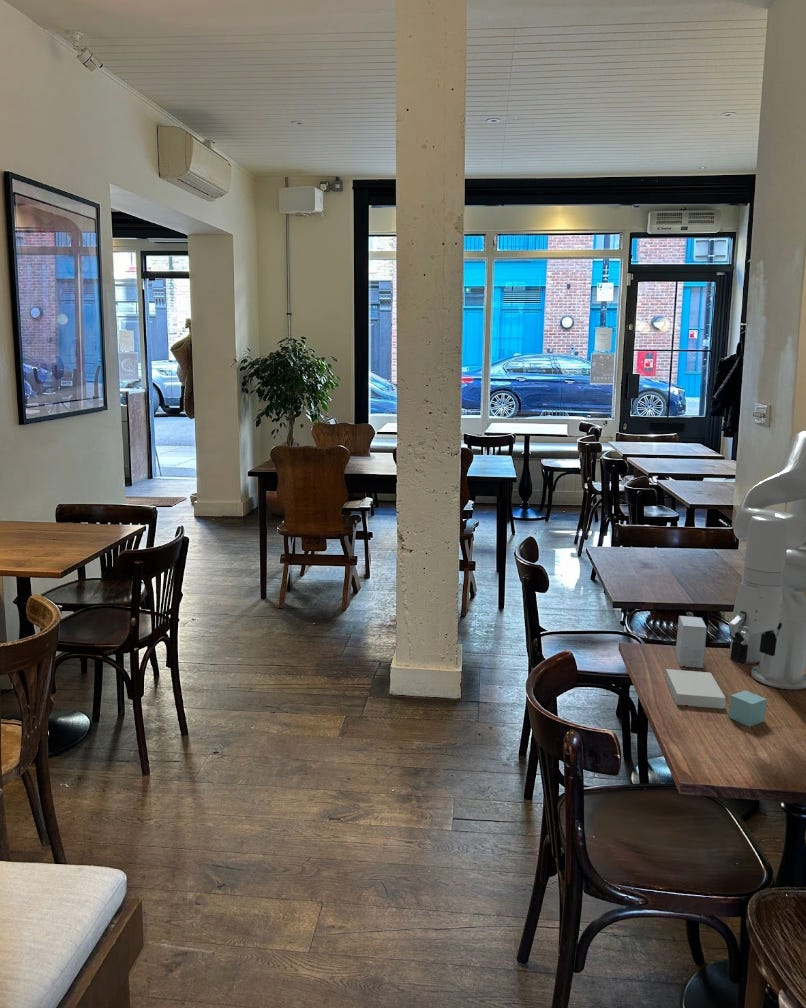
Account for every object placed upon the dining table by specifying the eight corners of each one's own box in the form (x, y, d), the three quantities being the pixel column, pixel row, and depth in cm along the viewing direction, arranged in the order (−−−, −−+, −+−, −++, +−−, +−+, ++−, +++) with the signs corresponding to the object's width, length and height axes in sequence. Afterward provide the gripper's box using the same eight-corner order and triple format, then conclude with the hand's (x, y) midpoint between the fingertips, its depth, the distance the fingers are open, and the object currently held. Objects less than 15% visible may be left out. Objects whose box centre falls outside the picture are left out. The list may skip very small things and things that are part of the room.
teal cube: (742, 712, 174) (745, 690, 173) (764, 721, 170) (766, 699, 169) (728, 717, 171) (730, 695, 170) (749, 726, 167) (752, 704, 166)
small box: (703, 669, 197) (707, 627, 195) (679, 666, 198) (683, 625, 196) (698, 657, 205) (702, 617, 203) (675, 654, 206) (678, 615, 204)
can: (759, 667, 199) (765, 620, 197) (726, 661, 203) (732, 615, 200) (762, 657, 205) (768, 612, 203) (731, 651, 209) (736, 607, 207)
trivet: (665, 679, 190) (666, 669, 190) (709, 682, 189) (710, 672, 188) (676, 704, 176) (677, 693, 176) (724, 708, 175) (725, 697, 175)
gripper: (771, 568, 172) (761, 645, 175) (719, 577, 163) (710, 658, 166) (804, 576, 166) (794, 656, 169) (753, 586, 157) (743, 670, 160)
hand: (752, 657), depth 167 cm, fingers open, 9 cm apart
